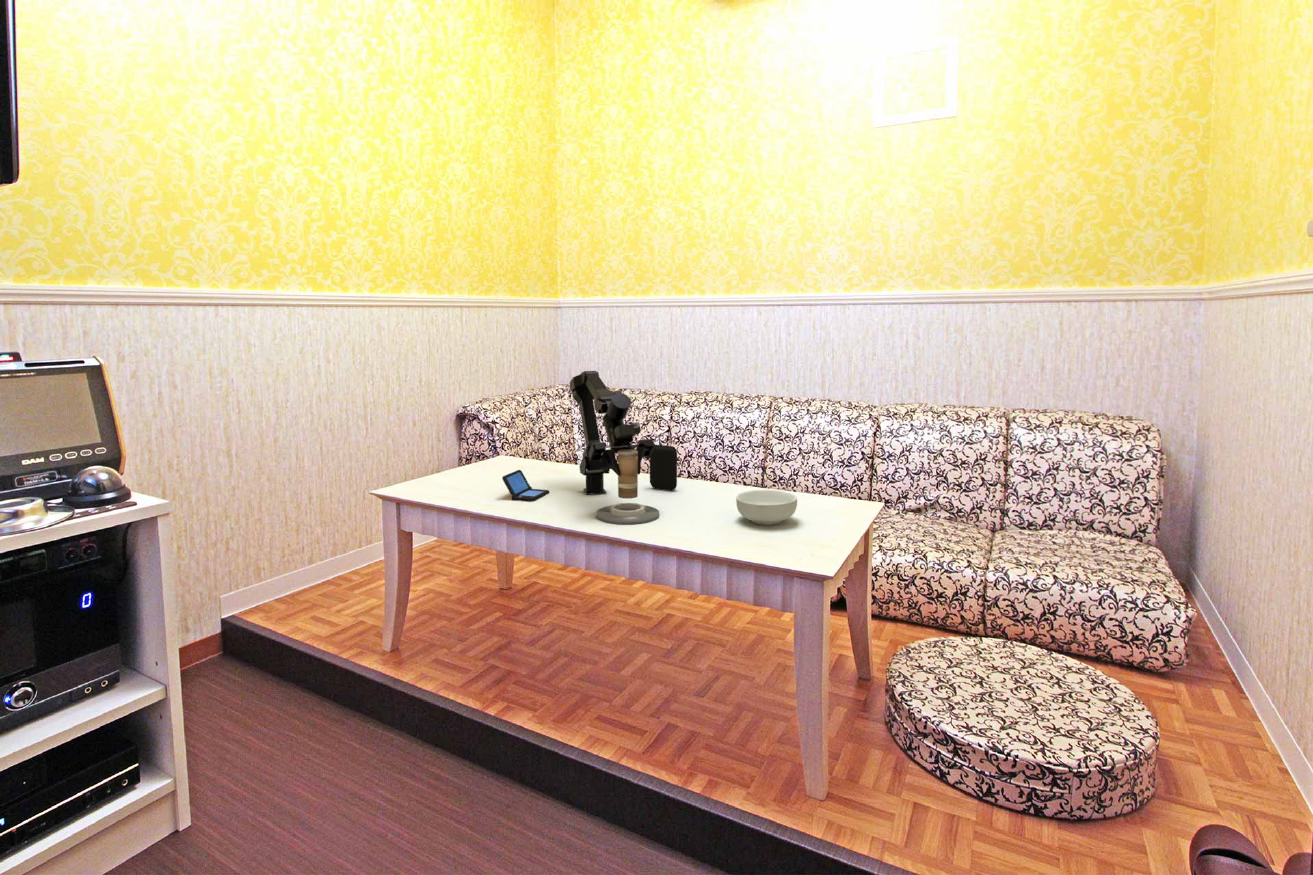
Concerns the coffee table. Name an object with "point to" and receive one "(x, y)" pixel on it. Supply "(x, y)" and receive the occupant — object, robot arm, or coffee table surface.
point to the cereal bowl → (766, 506)
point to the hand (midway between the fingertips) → (629, 474)
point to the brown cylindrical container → (628, 473)
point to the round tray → (627, 514)
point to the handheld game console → (522, 487)
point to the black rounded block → (663, 467)
